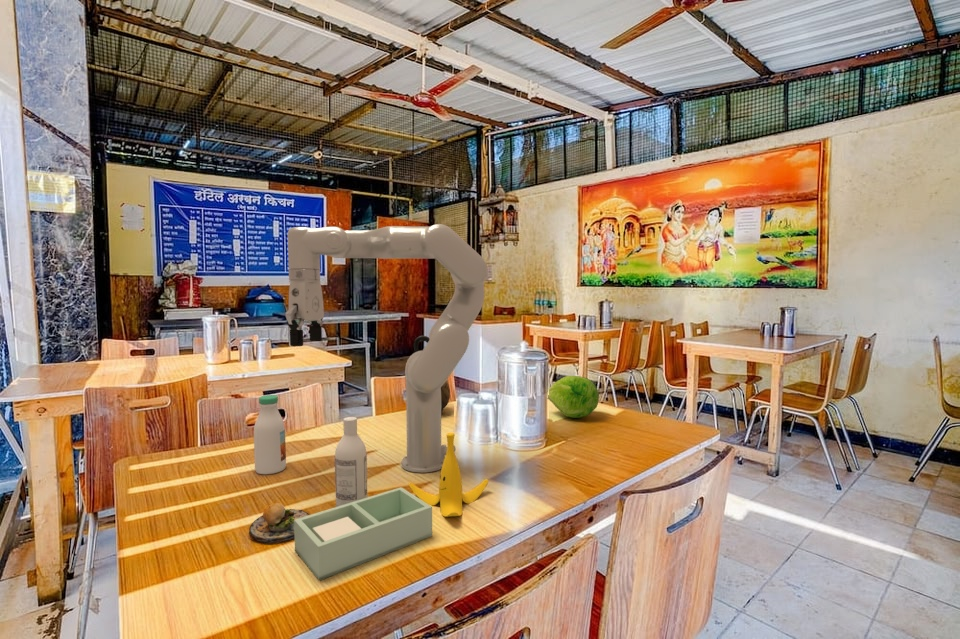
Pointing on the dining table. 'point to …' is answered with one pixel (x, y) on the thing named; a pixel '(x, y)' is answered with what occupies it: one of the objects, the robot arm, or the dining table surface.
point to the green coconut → (574, 396)
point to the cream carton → (335, 529)
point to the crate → (363, 531)
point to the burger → (275, 524)
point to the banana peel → (450, 486)
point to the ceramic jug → (445, 387)
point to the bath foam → (350, 465)
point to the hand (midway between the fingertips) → (306, 343)
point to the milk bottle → (269, 437)
